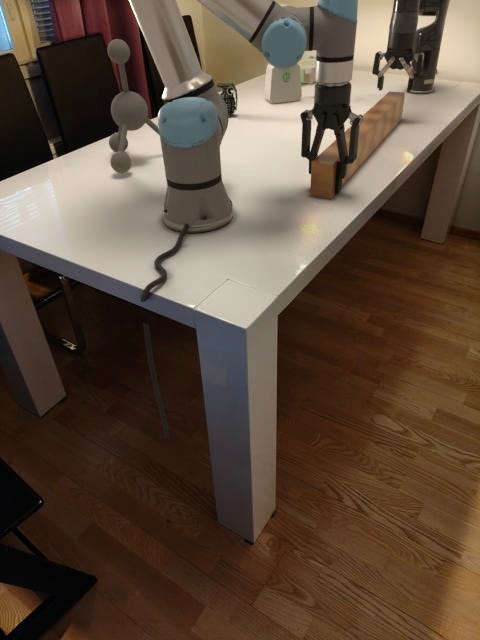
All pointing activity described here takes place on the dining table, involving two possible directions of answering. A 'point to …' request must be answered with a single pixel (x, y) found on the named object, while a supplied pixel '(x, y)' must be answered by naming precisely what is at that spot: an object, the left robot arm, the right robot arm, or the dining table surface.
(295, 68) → the electronic device
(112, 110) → the molecular model
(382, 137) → the beam
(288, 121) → the dining table surface
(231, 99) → the grenade
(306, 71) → the decorative block
